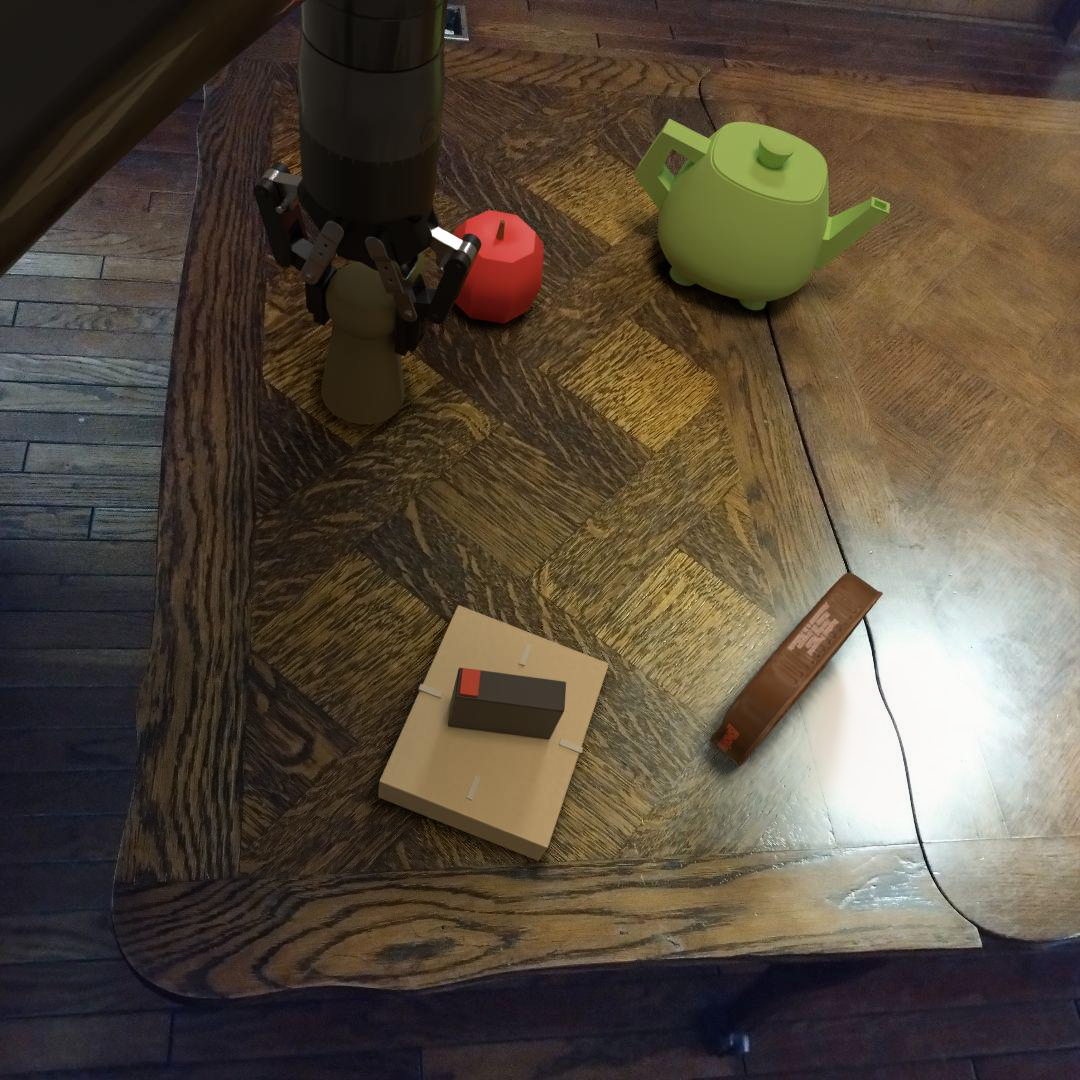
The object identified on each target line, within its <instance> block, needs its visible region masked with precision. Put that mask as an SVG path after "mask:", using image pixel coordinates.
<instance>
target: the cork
mask: <svg viewBox="0 0 1080 1080" xmlns="http://www.w3.org/2000/svg"><path fill="white" fill-rule="evenodd" d="M325 294H326V308H327V311H328V314H329V316H330V320H331V322H332V326H331V332H330V338H329V341H328V342H329V343H328V346H327V347H328V348H327V353H326V359H325V364H324V370H323V374H322V380H321V385H320V392H321V399H322V401H323V403H324V404H325V407H326V408H327V409H328V411H330V412H331V413H332V414H333V415H334V416H335V417H337V418H339V419H340V420H343V421H345V422H347V423H352V424H356V425H375V424H378V423H382V422H384V421H387V420H389V419H390V418H392V417H393V416H396V414H397V413H398V412H399V410H400V409H401V408H402V406H403V404H404V400H405V396H406V393H405V383H404V374H403V366H402V358H401V356H402V355H399V354H397V353H395V352H394V351H395V335H396V320H397V316H398V314H399V311H398V308H397V305H396V303H395V300H394V297H393V295H392V294H388V293H387V292H386V290H385V288H384V285H383V282H382V280H381V277H380V274H379V272H378V271H376V270H373V269H371V268H370V267H368V266H366V265H365V264H363V263H361V262H358V261H355V262H353V263H348V264H346V265H344V266H343V267H341V268H339V269H337V272H336V273H335V275H334V276H333V277H332V278H331V279H330V282H329V284H328V287H327V290H326V293H325Z"/></svg>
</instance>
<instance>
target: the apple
mask: <svg viewBox="0 0 1080 1080" xmlns="http://www.w3.org/2000/svg"><path fill="white" fill-rule="evenodd" d="M468 233H470V234H474V235H476V236H477V237H478V238H479V239H480V241H481V248H480V250H479V252H478V254H477V257H476V259H475V261H474V263H473V265H472V267H471V270H470V272H469V274H468V276H467V278H466V280H465V282H464V285H463V287H462V289H461V291H460V293H459V295H458V298H457V299H456V301H455V303H454V304H455V305H457V307H459V309H461V311H462V312H464V313H465V314H466V315H467V317H469V318H470V319H475V320H480V321H487V322H492V323H497V324H498V323H499V324H505V323H507V322H510V321H512V320H513V319H515V318H517V317H519V316H521V315H523V314H525V313H526V312H529V311H530V309H531V307H532V305H533V303H534V302H535V299H536V298H537V295H538V294H539V292H540V290H541V288H542V283H543V274H544V273H543V271H544V260H545V254H544V253H545V251H544V250H545V249H544V248H545V247H544V243H543V241H542V239H541V238H540V236H539V235H538V233H537V232H536V231H535V230H534V229H533V228H532V227H531V226H530V225H528V223H526V222H525V221H524V220H523V219H522V218H521V217H520V216H519V215H518V214H513V213H508V212H502V211H497V210H491V209H489V210H486V211H484V212H481V213H479V214H477V215H475V216H473V217H471V218H468V219H466V220H465V221H463V222H462V223H461V224H459V225H458V226H457V227H455V228H454V230H453V233H452V235H454V236H456V237H457V238H459V239H461V240H462V238H463V236H464V235H465V234H468Z"/></svg>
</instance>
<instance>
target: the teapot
mask: <svg viewBox="0 0 1080 1080" xmlns="http://www.w3.org/2000/svg"><path fill="white" fill-rule="evenodd" d="M651 143H652V144H651V145H650V147H648V149H647V151H646V152H645V153H644V155H643V157H642V158H641V160H640V161H639V163H638V165H637V167H636V169H635V171H634V173H633V176H634V177H635V179H636V180H637V182H638V183H639V184H640V186H641V187H642V188H643V190H644V191H645V193H646V194H647V195H648V197H649V198H650V200H651V201H652V202H653V204H654V205H655V207H656V208H657V209H658V211H659V212H658V218H657V238H658V243H659V246H660V248H661V251H662V253H663V255H664V256H665V259H666V260H667V262H668V263H669V265H670V266H671V268H670V269H669V276H670V278H671V279H672V281H674V282H675V283H677V284H679V285H680V286H684V287H690V286H694V285H695V284H697V285H698V286H700V287H702V288H704V289H707V290H708V291H711V292H713V293H716V294H719V295H722V296H724V297H729V298H732V299H737V300H738V302H739V304H741V305H742V306H743V307H744V308H746V309H748V310H751V311H760V310H763V309H764V308H765V307H766V305H767V302H771V301H775V300H776V301H777V300H779V299H783V298H785V297H788V296H790V295H792V294H794V293H796V292H797V291H799V290H800V289H801V288H802V287H804V285H805V284H806V283H807V282H808V280H809V278H810V277H811V275H812V273H813V271H814V269H816V270H822V269H823V268H824V267H825V266H827V265H828V264H829V263H831V262H832V261H833V260H835V259H836V258H837V257H838V256H839V255H841V254H842V253H843V252H845V251H846V250H847V249H849V248H850V247H851V246H852V245H853V244H854V243H856V242H857V241H858V240H859V239H861V238H862V237H863V236H864V235H866V234H867V233H868V232H869V231H871V230H872V229H873V228H874V227H876V226H877V225H878V224H879V223H881V222H882V221H883V220H885V219H886V218H887V217H888V216H889V215H890V208H891V203H890V202H887V201H885V200H882V199H881V198H877V197H875V196H872V195H871V197H870V198H869V199H867V200H865V201H863V202H860V203H858V204H856V205H854V206H852V207H850V208H848V209H846V210H843V211H842V212H839V213H838V214H835V215H833V216H829V210H830V209H829V208H830V207H829V206H830V193H829V192H830V188H829V172H828V165H827V160H826V159H825V157H824V156H823V154H822V153H821V152H820V151H819V150H818V149H817V148H815V146H813V145H811V144H810V143H809V142H807V141H806V140H803V139H802V138H799V137H797V136H796V135H793V134H792V133H789V132H787V131H784V130H781V129H779V128H776V127H773V126H769V125H765V124H761V123H756V122H749V121H735V122H729V123H726V124H724V125H723V126H722V127H721V128H719V129H718V130H716V131H715V132H713V133H712V134H711V135H710V136H709V137H706V136H704V135H702V134H701V133H699V132H697V131H695V130H693V129H691V128H689V127H688V126H687V127H686V126H685V125H683V124H681V123H680V122H677V121H675V120H673V119H671V118H668V119H667V121H666V122H665V124H664V126H663V127H662V128H661V130H660V131H659V133H658V134H657V135H656V137H655V138H654V140H653V142H651ZM672 150H673V151H674V152H676V153H678V154H679V155H680V156H683V158H686V159H687V160H686V161H685V162H684V164H683V165H682V166H681V168H680V169H679V171H678V172H677V174H676V175H673V173H672V172H671V170H670V169H669V168H668V166H667V165H666V164H665V163H666V161H667V159H668V158H669V156H670V154H671V152H672Z"/></svg>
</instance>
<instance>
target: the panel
mask: <svg viewBox="0 0 1080 1080" xmlns="http://www.w3.org/2000/svg"><path fill="white" fill-rule="evenodd" d="M609 665H610V663H609V662H606V661H603V660H601V659H598V658H596V657H593V656H591V655H589V654H586V653H583V652H580V651H577V650H575V649H572V648H570V647H567V646H565V645H562V644H560V643H557V642H554V641H552V640H549V639H547V638H544V637H542V636H539V635H537V634H534V633H532V632H528V631H526V630H524V629H521V628H518V627H516V626H513V625H511V624H509V623H505V622H503V621H501V620H498V619H496V618H493V617H491V616H488V615H485V614H483V613H480V612H477V611H475V610H473V609H470V608H467V607H465V606H462V605H460V604H459V605H457V606H456V609H455V611H454V613H453V615H452V618H451V619H450V622H449V624H448V626H447V630H446V631H445V634H444V636H443V637H442V640H441V642H440V644H439V646H438V648H437V651H436V653H435V655H434V658H433V660H432V662H431V664H430V667H429V668H428V671H427V673H426V676H425V678H424V680H423V683H420V684H419V686H418V689H417V690H418V694H417V696H416V698H415V700H414V703H413V704H412V707H411V709H410V712H409V713H408V716H407V718H406V721H405V722H404V725H403V727H402V730H401V731H400V734H399V736H398V738H397V741H396V742H395V744H394V747H393V749H392V752H391V754H390V756H389V758H388V761H387V763H386V765H385V768H384V770H383V772H382V774H381V776H380V779H379V783H378V791H377V797H378V798H379V799H382V800H384V801H386V802H389V803H391V804H392V803H393V804H395V805H397V806H399V807H402V808H405V809H406V810H409V811H412V812H414V813H416V814H419V815H422V816H425V817H427V818H429V819H432V820H435V821H437V822H439V823H441V824H445V825H447V826H450V827H452V828H454V829H457V830H460V831H462V832H465V833H466V834H470V835H473V836H474V837H477V838H479V839H482V840H485V841H488V842H489V843H493V844H495V845H497V846H499V847H502V848H505V849H507V850H510V851H512V852H515V853H517V854H520V855H523V856H524V857H528V858H530V859H533V860H535V861H540V860H541V858H542V857H543V856H544V854H545V853H546V851H547V850H548V849H549V846H550V843H551V840H552V837H553V834H554V831H555V827H556V825H557V821H558V819H559V817H560V813H561V811H562V806H563V804H564V801H565V797H566V795H567V792H568V788H569V786H570V783H571V779H572V778H573V774H574V771H575V768H576V764H577V762H578V759H579V756H580V754H581V755H582V753H583V751H584V746H583V743H584V741H585V738H586V735H587V731H588V729H589V726H590V722H591V720H592V716H593V714H594V710H595V708H596V705H597V702H598V698H599V695H600V693H601V690H602V686H603V684H604V681H605V678H606V674H607V672H608V668H609ZM459 668H468V669H475V670H483V671H490V672H497V673H505V674H512V675H520V676H527V677H534V678H542V679H549V680H557V681H564V682H566V693H565V710H564V712H563V714H562V716H561V718H560V720H559V722H558V724H557V726H556V728H555V730H554V732H553V734H552V736H551V738H550V739H543V738H535V737H527V736H520V735H512V734H504V733H496V732H488V731H481V730H473V729H465V728H457V727H449V726H448V720H449V712H450V704H451V698H452V693H453V689H454V685H455V681H456V677H457V673H458V669H459Z"/></svg>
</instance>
